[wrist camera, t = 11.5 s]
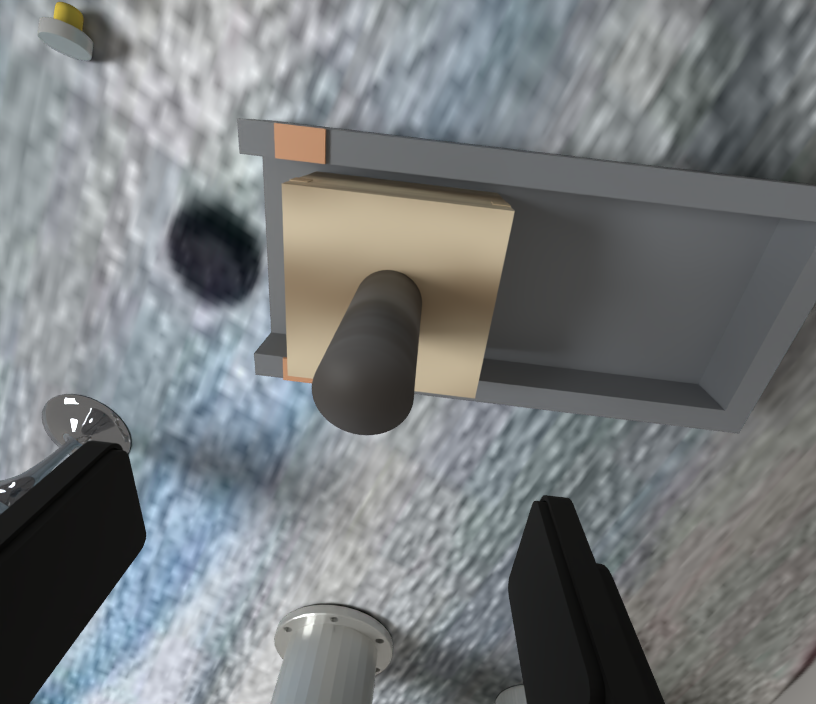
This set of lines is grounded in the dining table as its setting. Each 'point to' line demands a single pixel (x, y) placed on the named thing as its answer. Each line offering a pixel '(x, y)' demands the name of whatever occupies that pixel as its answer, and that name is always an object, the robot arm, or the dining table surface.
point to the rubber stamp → (388, 292)
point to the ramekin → (512, 696)
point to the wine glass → (67, 438)
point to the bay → (594, 272)
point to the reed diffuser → (66, 32)
